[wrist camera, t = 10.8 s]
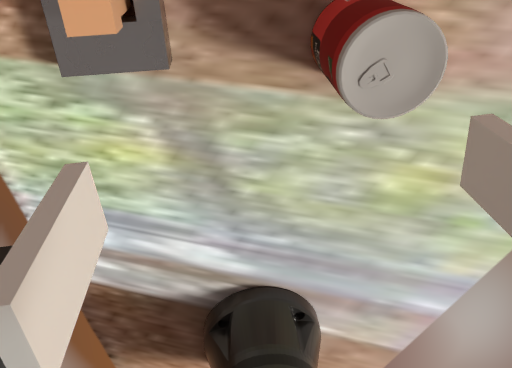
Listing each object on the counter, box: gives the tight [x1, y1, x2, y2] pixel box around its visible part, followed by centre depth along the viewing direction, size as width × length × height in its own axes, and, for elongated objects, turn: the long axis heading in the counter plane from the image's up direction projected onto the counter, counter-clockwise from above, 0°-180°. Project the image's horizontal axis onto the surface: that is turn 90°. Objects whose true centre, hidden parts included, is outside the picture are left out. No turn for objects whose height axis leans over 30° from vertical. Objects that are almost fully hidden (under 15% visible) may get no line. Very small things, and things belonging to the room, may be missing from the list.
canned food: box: [311, 0, 448, 119], centre depth 36 cm, size 8×8×11 cm
